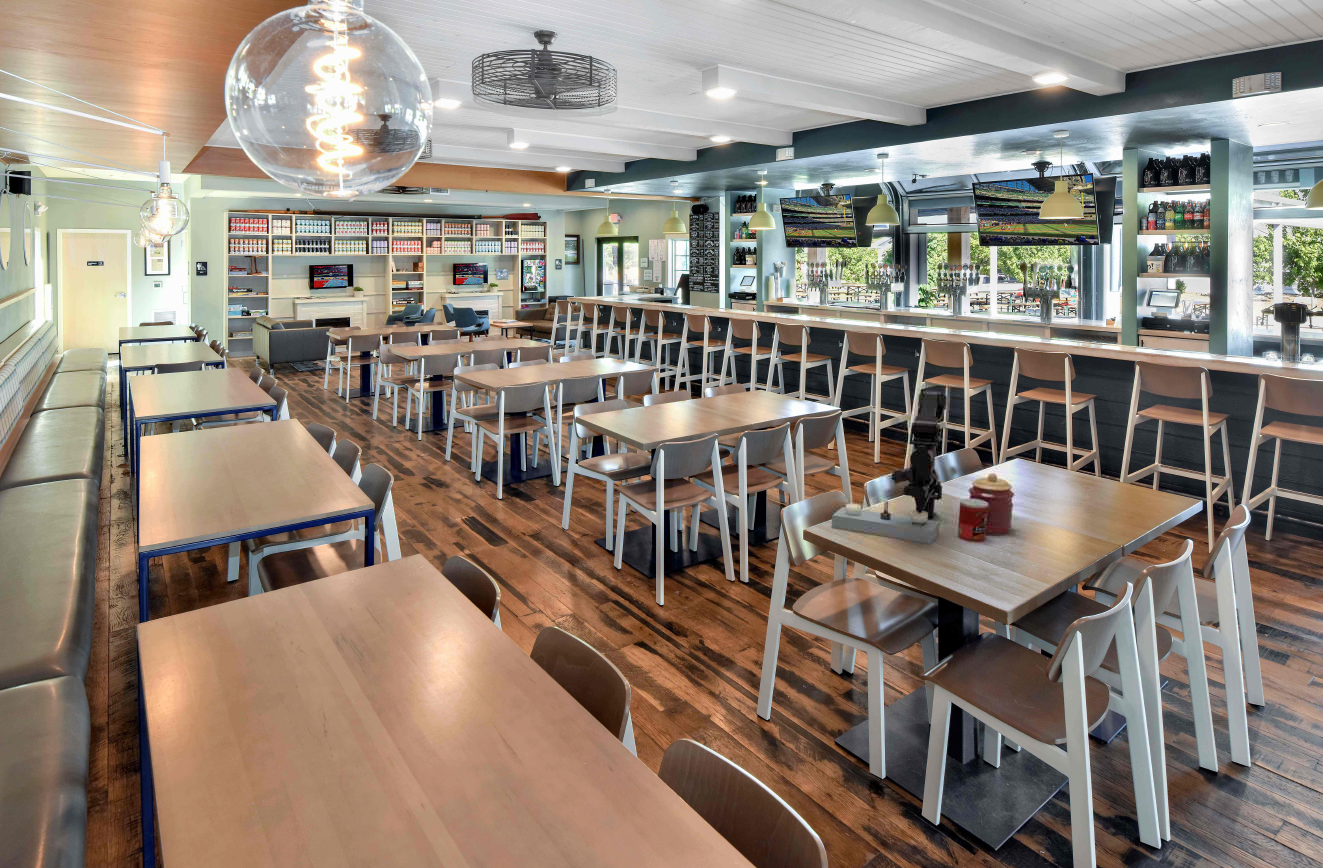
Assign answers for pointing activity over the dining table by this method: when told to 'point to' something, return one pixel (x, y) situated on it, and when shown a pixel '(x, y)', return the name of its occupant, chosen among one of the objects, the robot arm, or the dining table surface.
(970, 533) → the canned food
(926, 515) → the knob right
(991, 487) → the canister
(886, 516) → the pot stem
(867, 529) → the mount
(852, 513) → the knob left
